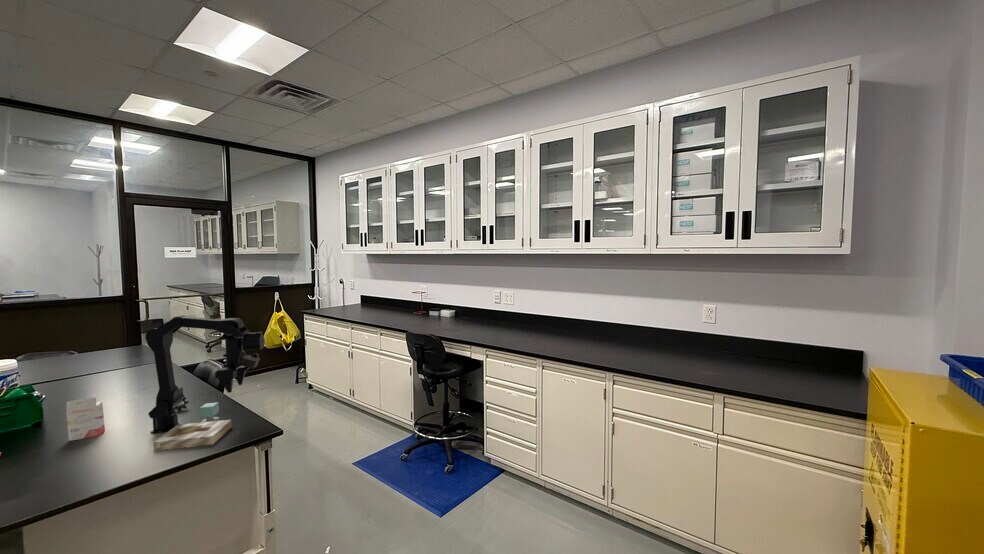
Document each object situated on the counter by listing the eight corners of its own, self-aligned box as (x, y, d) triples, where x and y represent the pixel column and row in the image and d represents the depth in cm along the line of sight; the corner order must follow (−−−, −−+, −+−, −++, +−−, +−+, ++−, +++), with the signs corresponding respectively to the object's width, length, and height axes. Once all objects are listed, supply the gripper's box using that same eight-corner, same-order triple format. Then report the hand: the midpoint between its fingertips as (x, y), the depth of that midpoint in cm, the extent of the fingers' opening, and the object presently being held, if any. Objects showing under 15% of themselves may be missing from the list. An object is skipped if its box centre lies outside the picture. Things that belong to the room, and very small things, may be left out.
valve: (169, 406, 171) (169, 413, 162) (168, 391, 171) (168, 398, 162) (187, 402, 175) (189, 409, 166) (186, 388, 175) (188, 394, 166)
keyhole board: (153, 451, 130) (153, 442, 130) (178, 432, 143) (177, 424, 143) (213, 444, 133) (212, 435, 133) (231, 427, 147) (231, 419, 147)
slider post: (197, 426, 149) (196, 408, 149) (205, 419, 155) (204, 402, 155) (214, 424, 150) (213, 407, 150) (222, 418, 156) (221, 401, 156)
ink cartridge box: (105, 430, 147) (102, 393, 146) (99, 435, 142) (96, 397, 141) (74, 435, 143) (71, 397, 142) (67, 441, 138) (64, 401, 137)
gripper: (246, 354, 144) (247, 395, 144) (265, 344, 162) (266, 380, 163) (213, 356, 141) (214, 397, 142) (236, 345, 160) (237, 381, 160)
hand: (235, 388), depth 152 cm, fingers open, 9 cm apart
